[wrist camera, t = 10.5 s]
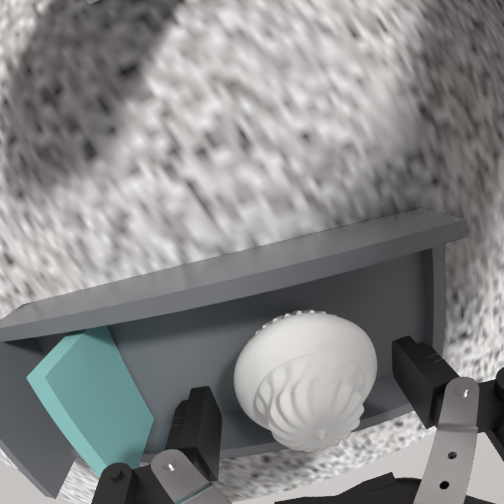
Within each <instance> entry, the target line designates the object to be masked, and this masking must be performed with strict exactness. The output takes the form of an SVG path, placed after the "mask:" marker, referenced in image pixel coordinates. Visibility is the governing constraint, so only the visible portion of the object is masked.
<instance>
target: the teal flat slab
mask: <svg viewBox="0 0 504 504" xmlns="http://www.w3.org/2000/svg"><path fill="white" fill-rule="evenodd" d="M26 378H27V380H28V381H29V383H30V385H31V386H32V388H33V390H34V391H35V393H36V395H37V396H38V398H39V399H40V401H41V402H42V404H43V405H44V407H45V408H46V410H47V411H48V413H49V414H50V416H51V417H52V419H53V420H54V422H55V423H56V424H57V426H58V427H59V429H60V430H61V431H62V433H63V434H64V435H65V437H66V438H67V439H68V441H69V442H70V443H71V444H72V446H73V447H74V448H75V449H76V451H77V452H78V453H79V454H80V456H81V457H82V458H83V459H84V460H85V462H86V463H87V464H88V465H89V466H90V467H91V469H92V470H93V471H94V472H95V473H96V474H97V475H98V476H99V477H100V476H101V473H102V471H103V470H104V469H105V468H106V467H107V466H109V465H110V464H113V463H117V462H122V463H126V464H127V465H129V466H130V468H131V469H135V468H138V467H139V464H140V461H141V458H142V455H143V451H144V448H145V445H146V442H147V439H148V436H149V433H150V430H151V427H152V424H153V421H154V417H153V415H152V414H151V412H150V410H149V409H148V407H147V405H146V403H145V401H144V400H143V398H142V396H141V394H140V392H139V391H138V389H137V387H136V385H135V383H134V381H133V379H132V377H131V375H130V373H129V371H128V369H127V367H126V365H125V363H124V361H123V359H122V357H121V355H120V353H119V351H118V349H117V347H116V344H115V342H114V340H113V338H112V336H111V333H110V331H109V329H108V326H107V325H106V326H100V327H94V328H88V329H83V330H77V331H71V332H69V333H68V334H67V335H66V336H65V337H64V338H63V339H62V340H61V341H60V342H59V343H58V344H57V345H56V346H55V347H54V348H53V349H52V350H51V352H50V353H49V354H48V355H47V356H46V357H45V358H44V359H43V360H42V361H41V362H40V363H39V364H38V365H37V366H36V367H35V369H34V370H33V371H32V372H31V373H30V374H29V375H28V376H27V377H26Z"/></svg>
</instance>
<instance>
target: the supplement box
mask: <svg viewBox="0 0 504 504" xmlns="http://www.w3.org/2000/svg"><path fill="white" fill-rule="evenodd" d="M86 1H87V2H88V4H92V3H94V2H97V1H99V0H86Z"/></svg>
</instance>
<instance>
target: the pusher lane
mask: <svg viewBox="0 0 504 504" xmlns="http://www.w3.org/2000/svg"><path fill="white" fill-rule="evenodd" d="M465 237H467V231H466V219H463V218H460V217H456V216H452V215H448V214H445V213H441V212H437V211H433V210H429V209H425V208H418V209H414V210H410V211H406V212H401V213H397V214H393V215H389V216H384V217H380V218H376V219H372V220H368V221H363V222H359V223H355V224H351V225H347V226H343V227H338V228H334V229H330V230H326V231H322V232H318V233H313V234H309V235H305V236H301V237H297V238H293V239H288V240H284V241H280V242H276V243H272V244H268V245H264V246H259V247H255V248H251V249H247V250H243V251H239V252H235V253H231V254H226V255H222V256H218V257H214V258H210V259H206V260H202V261H198V262H194V263H190V264H185V265H181V266H177V267H173V268H169V269H165V270H161V271H157V272H153V273H149V274H145V275H140V276H136V277H132V278H128V279H124V280H120V281H116V282H112V283H108V284H104V285H100V286H96V287H92V288H88V289H84V290H80V291H76V292H72V293H68V294H64V295H60V296H55V297H51V298H47V299H43V300H39V301H35V302H31V303H27V304H23V305H21V306H20V307H18V308H17V309H16V310H14V311H13V312H11V313H10V314H9V315H7V316H6V317H4V318H3V319H2V320H0V448H1V449H2V450H3V451H4V453H5V454H6V455H7V456H8V457H9V458H10V460H11V461H12V462H13V463H14V464H15V465H16V466H17V468H18V469H19V470H20V471H21V472H22V473H23V474H24V475H25V476H26V477H27V478H28V479H29V480H30V481H31V482H32V483H33V484H34V485H35V486H36V487H37V488H38V489H39V490H40V491H41V492H42V493H43V494H44V495H45V496H47V497H51V498H54V499H56V497H57V495H58V493H59V491H60V489H61V487H62V485H63V483H64V481H65V478H66V476H67V474H68V472H69V470H70V468H71V466H72V464H73V462H74V460H75V458H76V457H77V458H82V457H81V456H80V454H79V453H78V452H77V451H76V449H75V448H74V447H73V446H72V444H71V443H70V442H69V441H68V439H67V438H66V437H65V435H64V434H63V433H62V431H61V430H60V429H59V427H58V426H57V424H56V423H55V422H54V420H53V419H52V417H51V416H50V414H49V413H48V411H47V410H46V408H45V407H44V405H43V404H42V402H41V401H40V399H39V398H38V396H37V395H36V393H35V391H34V390H33V388H32V386H31V385H30V383H29V381H28V380H27V378H26V377H27V376H28V375H29V374H30V373H31V372H32V371H33V370H34V369H35V367H36V366H37V365H38V364H39V363H40V362H41V361H42V360H43V359H44V358H45V357H46V356H47V355H48V354H49V353H50V352H51V350H52V349H53V348H54V347H55V346H56V345H57V344H58V343H59V342H60V341H61V340H62V339H63V338H64V337H65V336H66V335H67V334H68V333H69V332H71V331H77V330H83V329H88V328H94V327H100V326H106V325H107V326H108V329H109V331H110V333H111V336H112V338H113V340H114V342H115V344H116V347H117V349H118V351H119V353H120V355H121V357H122V359H123V361H124V363H125V365H126V367H127V369H128V371H129V373H130V375H131V377H132V379H133V381H134V383H135V385H136V387H137V389H138V391H139V392H140V394H141V396H142V398H143V400H144V401H145V403H146V405H147V407H148V409H149V410H150V412H151V414H152V415H153V417H154V421H153V424H152V427H151V430H150V433H149V436H148V439H147V442H146V445H145V448H144V451H143V455H142V458H141V461H140V462H152V460H153V459H154V457H155V456H156V455H157V454H159V453H160V452H162V451H164V450H165V447H166V443H167V439H168V435H169V431H170V428H171V426H172V425H171V424H172V420H173V419H174V418H173V416H174V413H175V409H176V408H177V406H178V405H179V404H180V403H181V401H182V400H188V399H189V394H190V390H191V388H195V387H202V386H209V387H210V388H211V391H212V393H213V395H214V398H215V400H216V402H217V405H218V407H219V409H220V412H221V416H222V433H221V445H220V457H219V459H222V458H231V457H239V456H247V455H254V454H260V453H266V452H272V451H278V450H283V449H288V447H287V446H285V445H283V444H281V443H279V442H278V441H277V440H276V439H275V438H274V437H273V435H272V432H271V430H268V429H266V428H264V427H262V426H261V425H259V424H257V423H256V422H255V421H253V420H252V419H251V418H250V417H249V416H248V415H247V414H246V413H245V412H244V411H243V409H242V407H241V406H240V404H239V402H238V399H237V396H236V393H235V388H234V371H235V366H236V362H237V359H238V357H239V355H240V353H241V351H242V350H243V348H244V347H245V345H246V344H247V343H248V341H249V340H250V339H251V338H253V337H254V336H255V335H256V334H255V333H256V331H258V330H259V329H261V328H262V326H263V325H265V324H267V323H268V322H271V321H273V319H274V318H276V317H279V316H281V315H285V314H286V313H292V312H293V311H304V310H313V311H325V312H326V314H332V315H336V316H337V317H340V318H343V319H346V320H348V321H350V322H352V323H354V324H356V325H357V326H359V327H360V328H361V329H362V330H363V331H364V332H365V333H366V334H367V335H368V337H369V338H370V340H371V342H372V344H373V346H374V349H375V353H376V358H377V374H376V379H375V382H374V385H373V387H372V389H371V391H370V393H369V395H368V396H367V398H366V399H365V401H364V402H363V404H362V405H363V407H364V412H363V414H362V415H361V416H360V418H359V419H360V424H359V426H358V427H357V428H356V429H354V430H352V431H351V433H352V432H355V431H358V430H362V429H365V428H368V427H371V426H374V425H377V424H380V423H383V422H385V421H388V420H391V419H394V418H396V417H399V416H401V415H404V414H407V413H409V412H412V411H414V409H413V407H412V405H411V404H410V402H409V401H408V399H407V398H406V396H405V395H404V393H403V391H402V390H401V388H400V387H399V385H398V384H397V382H396V381H395V378H394V375H393V371H392V342H393V341H394V340H396V339H399V338H402V337H405V336H408V335H409V336H411V338H412V339H413V340H414V341H415V342H416V343H417V344H418V343H421V342H423V343H425V344H427V345H430V346H432V347H433V349H434V350H435V351H436V352H437V353H438V354H439V355H440V356H441V357H442V353H443V342H444V327H445V298H446V277H445V248H444V244H445V243H449V242H452V241H455V240H458V239H462V238H465Z"/></svg>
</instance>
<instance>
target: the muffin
mask: <svg viewBox="0 0 504 504" xmlns="http://www.w3.org/2000/svg"><path fill="white" fill-rule="evenodd" d="M255 334H256V335H255V336H254V337H253V338H251V339H250V340H249V341H248V343H247V344H246V345H245V347H244V348H243V350H242V351H241V353H240V355H239V357H238V359H237V362H236V366H235V371H234V388H235V393H236V396H237V399H238V402H239V404H240V406H241V407H242V409H243V411H244V412H245V413H246V414H247V415H248V416H249V417H250V418H251V419H252V420H253V421H255V422H256V423H257V424H259V425H261V426H262V427H264V428H266V429H268V430H271V432H272V435H273V437H274V438H275V439H276V440H277V441H278V442H279V443H281V444H283V445H285V446H287V447H288V448H290V449H292V450H296V451H301V450H303V451H306V452H313V451H315V450H317V449H319V450H325V449H327V448H328V447H329V446H337V445H338V444H339V442H340V440H343V439H347V438H349V437H350V435H351V431H352V430H354V429H356V428H357V427H358V426H359V424H360V419H359V418H360V416H361V415H362V414H363V412H364V407H363V405H362V404H363V402H364V401H365V399H366V398H367V396H368V395H369V393H370V391H371V389H372V387H373V385H374V382H375V379H376V374H377V358H376V353H375V349H374V346H373V344H372V342H371V340H370V338H369V337H368V335H367V334H366V333H365V332H364V331H363V330H362V329H361V328H360V327H359V326H357V325H356V324H354V323H352V322H350V321H348V320H346V319H343V318H340V317H337V316H336V315H332V314H326V312H325V311H313V310H304V311H293V312H292V313H286V314H285V315H281V316H279V317H276V318H274V319H273V321H271V322H268V323H267V324H265V325H263V326H262V328H261V329H259V330H258V331H256V333H255Z"/></svg>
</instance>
